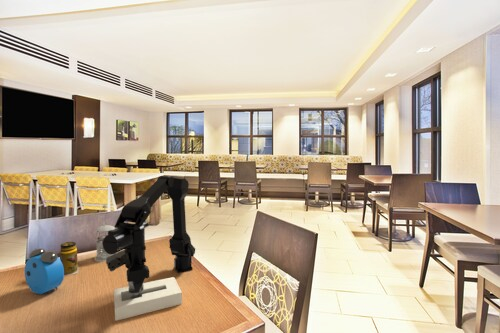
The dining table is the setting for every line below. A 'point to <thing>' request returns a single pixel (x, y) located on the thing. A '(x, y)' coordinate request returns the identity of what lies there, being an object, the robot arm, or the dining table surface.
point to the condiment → (69, 258)
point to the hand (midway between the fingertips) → (136, 288)
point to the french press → (102, 255)
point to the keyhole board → (147, 298)
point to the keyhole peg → (131, 290)
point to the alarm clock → (43, 271)
